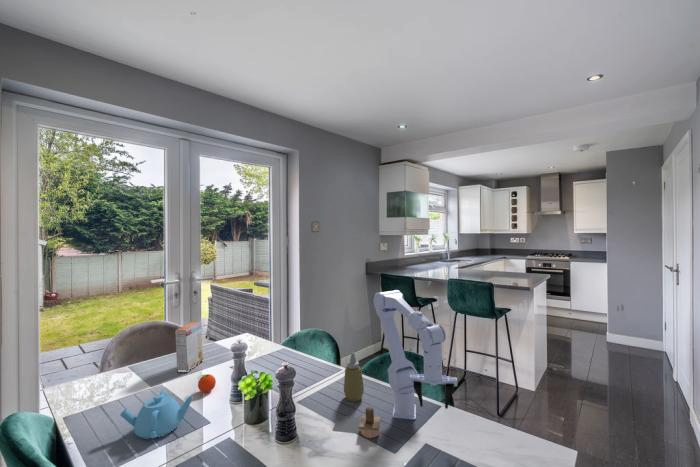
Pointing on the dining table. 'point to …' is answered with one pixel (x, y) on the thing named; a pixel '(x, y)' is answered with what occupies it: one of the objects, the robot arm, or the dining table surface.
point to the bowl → (370, 433)
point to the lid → (369, 420)
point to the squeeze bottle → (353, 380)
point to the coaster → (347, 424)
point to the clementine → (206, 383)
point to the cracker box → (189, 345)
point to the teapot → (157, 416)
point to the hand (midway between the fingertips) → (433, 406)
